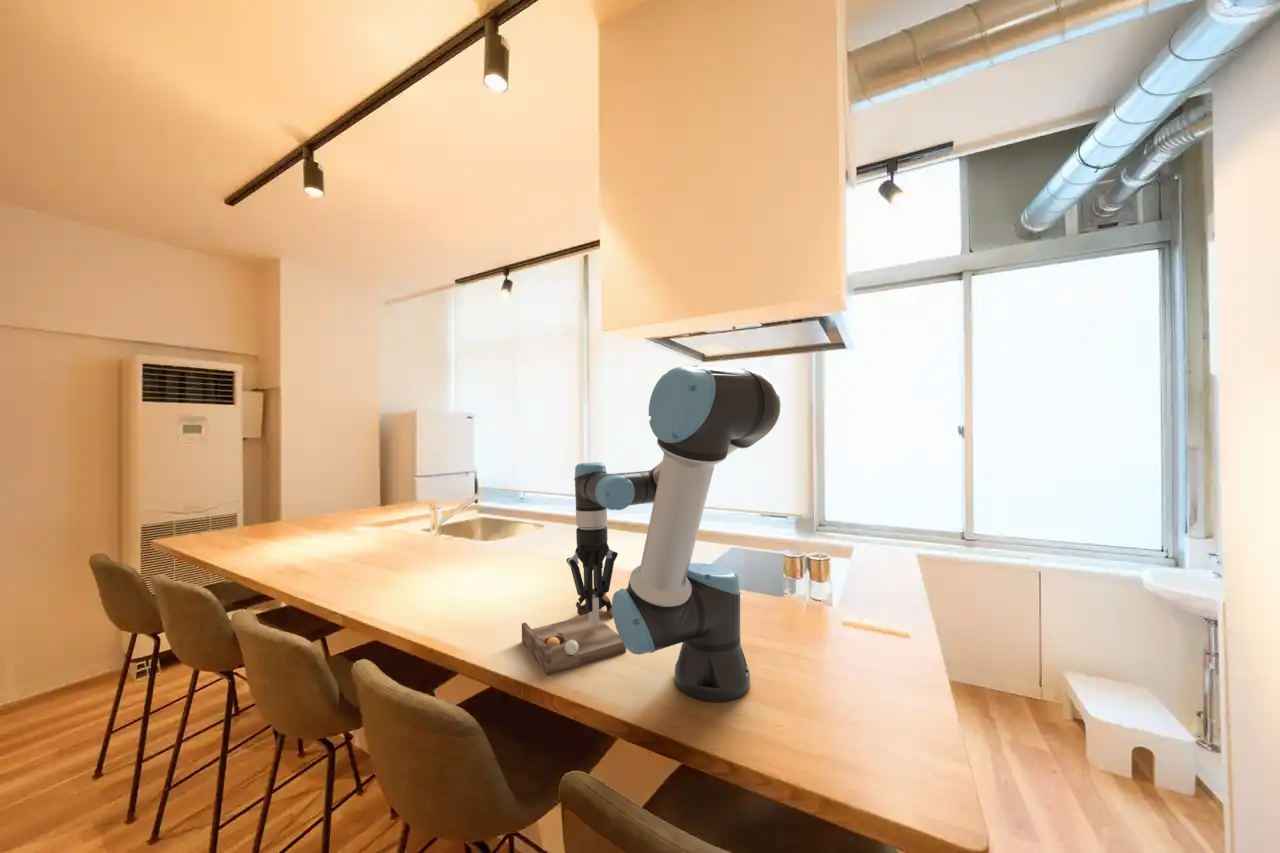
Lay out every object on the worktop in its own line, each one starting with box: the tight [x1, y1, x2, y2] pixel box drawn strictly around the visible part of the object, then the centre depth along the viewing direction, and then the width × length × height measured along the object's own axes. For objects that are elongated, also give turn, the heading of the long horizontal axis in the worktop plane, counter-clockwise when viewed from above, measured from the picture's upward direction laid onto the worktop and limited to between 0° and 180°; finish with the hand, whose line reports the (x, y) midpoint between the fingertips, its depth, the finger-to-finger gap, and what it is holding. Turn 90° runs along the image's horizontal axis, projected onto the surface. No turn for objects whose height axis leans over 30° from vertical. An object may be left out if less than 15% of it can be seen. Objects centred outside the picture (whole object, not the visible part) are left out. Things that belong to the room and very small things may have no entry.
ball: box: [546, 637, 560, 646], centre depth 108 cm, size 3×3×3 cm
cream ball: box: [565, 640, 578, 655], centre depth 102 cm, size 3×3×3 cm
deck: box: [521, 614, 627, 677], centre depth 111 cm, size 18×19×4 cm
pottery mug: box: [575, 588, 614, 619], centre depth 129 cm, size 12×10×8 cm
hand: (594, 623), depth 113 cm, fingers closed
